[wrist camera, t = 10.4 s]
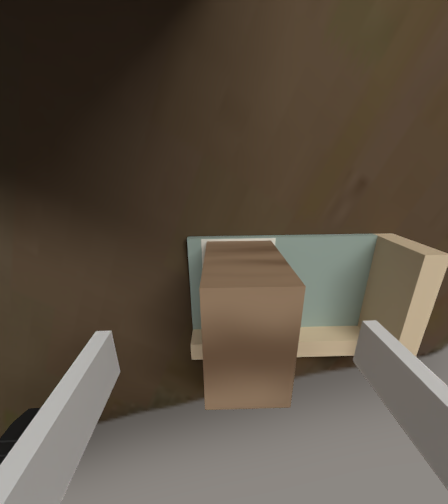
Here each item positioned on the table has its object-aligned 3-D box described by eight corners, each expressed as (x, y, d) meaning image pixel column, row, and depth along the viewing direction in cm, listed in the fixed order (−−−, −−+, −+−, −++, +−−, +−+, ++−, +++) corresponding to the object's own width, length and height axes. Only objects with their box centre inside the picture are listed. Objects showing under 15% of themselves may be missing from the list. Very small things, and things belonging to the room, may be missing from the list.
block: (206, 241, 18) (199, 288, 11) (270, 240, 18) (305, 286, 11) (209, 327, 20) (205, 409, 13) (265, 325, 20) (290, 407, 13)
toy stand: (194, 339, 22) (187, 386, 17) (187, 236, 18) (177, 259, 14) (367, 335, 22) (407, 379, 17) (392, 233, 19) (451, 254, 14)
